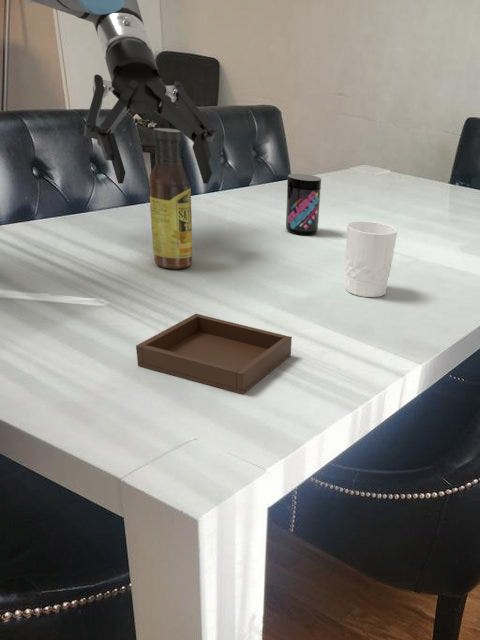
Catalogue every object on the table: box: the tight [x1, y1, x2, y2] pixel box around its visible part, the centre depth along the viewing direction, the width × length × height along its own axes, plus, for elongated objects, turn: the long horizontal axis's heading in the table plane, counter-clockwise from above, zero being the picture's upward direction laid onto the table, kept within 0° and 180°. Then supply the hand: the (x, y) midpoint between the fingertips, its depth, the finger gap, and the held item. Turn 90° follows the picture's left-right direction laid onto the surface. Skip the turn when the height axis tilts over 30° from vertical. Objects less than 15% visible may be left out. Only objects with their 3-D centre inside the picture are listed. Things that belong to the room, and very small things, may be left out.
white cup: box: [344, 220, 398, 298], centre depth 104 cm, size 8×8×10 cm
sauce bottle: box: [148, 127, 194, 270], centre depth 101 cm, size 6×6×20 cm
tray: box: [135, 313, 293, 395], centre depth 77 cm, size 14×13×2 cm
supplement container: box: [285, 173, 322, 236], centre depth 131 cm, size 7×7×10 cm
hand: (166, 178), depth 101 cm, fingers open, 13 cm apart
